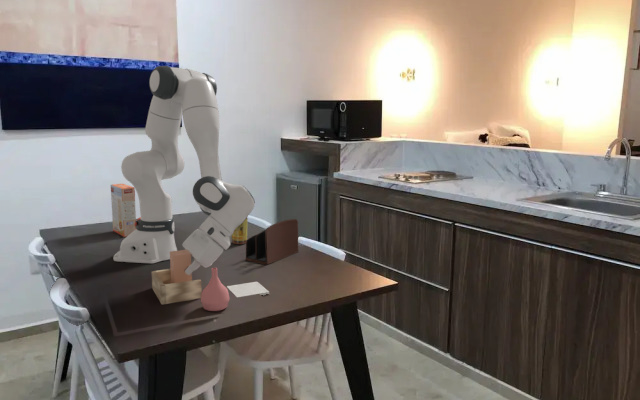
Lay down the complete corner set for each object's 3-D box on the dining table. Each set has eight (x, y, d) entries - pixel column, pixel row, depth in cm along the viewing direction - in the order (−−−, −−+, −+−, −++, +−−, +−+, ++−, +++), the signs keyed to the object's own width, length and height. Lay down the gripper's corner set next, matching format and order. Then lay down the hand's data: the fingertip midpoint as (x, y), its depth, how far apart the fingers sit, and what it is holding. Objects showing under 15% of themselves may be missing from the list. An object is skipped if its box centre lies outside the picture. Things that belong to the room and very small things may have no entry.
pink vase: (204, 318, 134) (203, 274, 131) (198, 307, 140) (196, 266, 138) (233, 313, 137) (232, 270, 135) (225, 303, 144) (224, 262, 141)
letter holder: (298, 252, 195) (298, 216, 193) (267, 265, 179) (267, 226, 176) (277, 248, 200) (277, 213, 198) (245, 260, 184) (244, 222, 181)
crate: (161, 307, 140) (160, 286, 139) (152, 290, 153) (151, 271, 152) (201, 300, 146) (201, 280, 145) (189, 284, 158) (188, 266, 157)
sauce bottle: (228, 244, 205) (227, 195, 201) (236, 240, 211) (236, 193, 207) (242, 245, 203) (242, 196, 199) (250, 242, 208) (250, 194, 205)
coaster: (237, 299, 146) (237, 297, 146) (226, 288, 155) (226, 286, 155) (269, 294, 151) (269, 291, 151) (257, 283, 160) (257, 281, 160)
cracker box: (137, 235, 216) (135, 187, 212) (123, 237, 212) (120, 188, 209) (126, 229, 227) (123, 182, 223) (112, 231, 223) (109, 184, 219)
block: (175, 296, 147) (173, 256, 144) (171, 290, 151) (169, 251, 149) (192, 293, 149) (191, 253, 147) (188, 287, 153) (186, 249, 151)
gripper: (197, 219, 159) (166, 253, 156) (216, 233, 141) (182, 272, 139) (211, 231, 162) (182, 265, 159) (232, 247, 144) (199, 285, 141)
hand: (182, 268), depth 149 cm, fingers open, 8 cm apart
